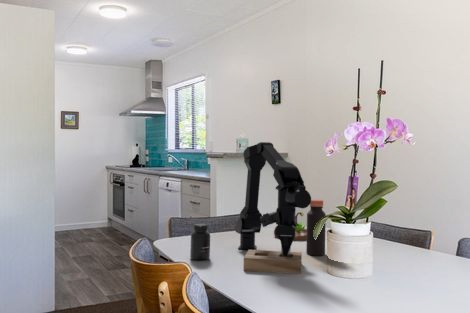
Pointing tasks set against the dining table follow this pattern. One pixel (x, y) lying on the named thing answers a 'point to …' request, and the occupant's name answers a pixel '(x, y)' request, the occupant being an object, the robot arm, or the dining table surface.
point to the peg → (288, 253)
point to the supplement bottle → (200, 243)
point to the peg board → (272, 261)
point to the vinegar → (313, 217)
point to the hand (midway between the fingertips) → (285, 252)
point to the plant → (299, 230)
